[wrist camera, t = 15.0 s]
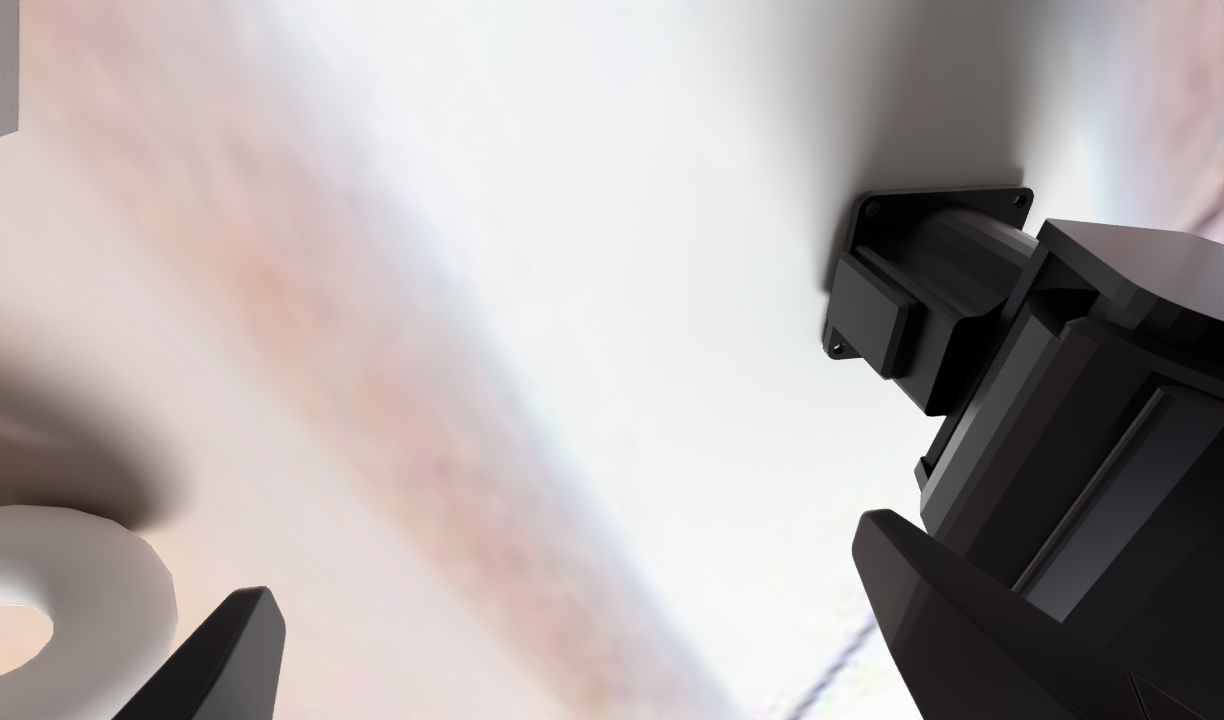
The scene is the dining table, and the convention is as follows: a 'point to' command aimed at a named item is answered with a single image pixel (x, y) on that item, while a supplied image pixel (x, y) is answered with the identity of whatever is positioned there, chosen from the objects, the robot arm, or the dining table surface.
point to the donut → (83, 612)
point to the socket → (8, 66)
